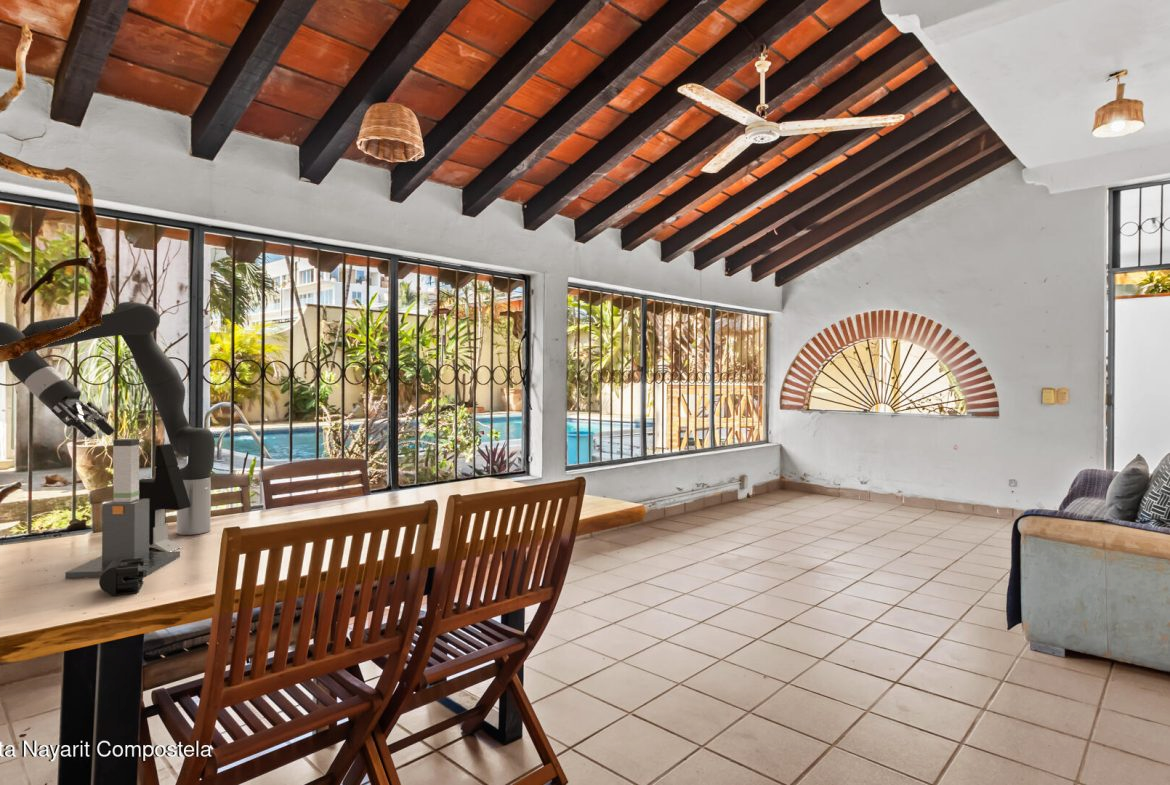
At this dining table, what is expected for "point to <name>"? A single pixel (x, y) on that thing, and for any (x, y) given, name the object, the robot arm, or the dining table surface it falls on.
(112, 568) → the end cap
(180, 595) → the dining table surface
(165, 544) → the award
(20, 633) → the dining table surface
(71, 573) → the stand
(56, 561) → the dining table surface
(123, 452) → the column
